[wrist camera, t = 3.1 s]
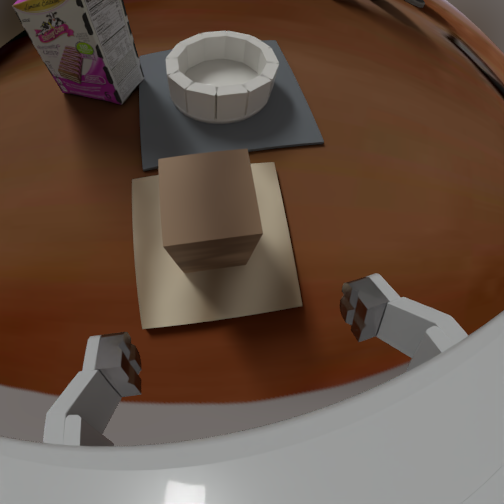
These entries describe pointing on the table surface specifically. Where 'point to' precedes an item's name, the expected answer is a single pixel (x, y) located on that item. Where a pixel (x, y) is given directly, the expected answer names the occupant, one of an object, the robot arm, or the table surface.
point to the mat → (220, 135)
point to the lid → (211, 240)
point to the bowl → (221, 76)
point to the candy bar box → (84, 45)
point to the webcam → (417, 3)
